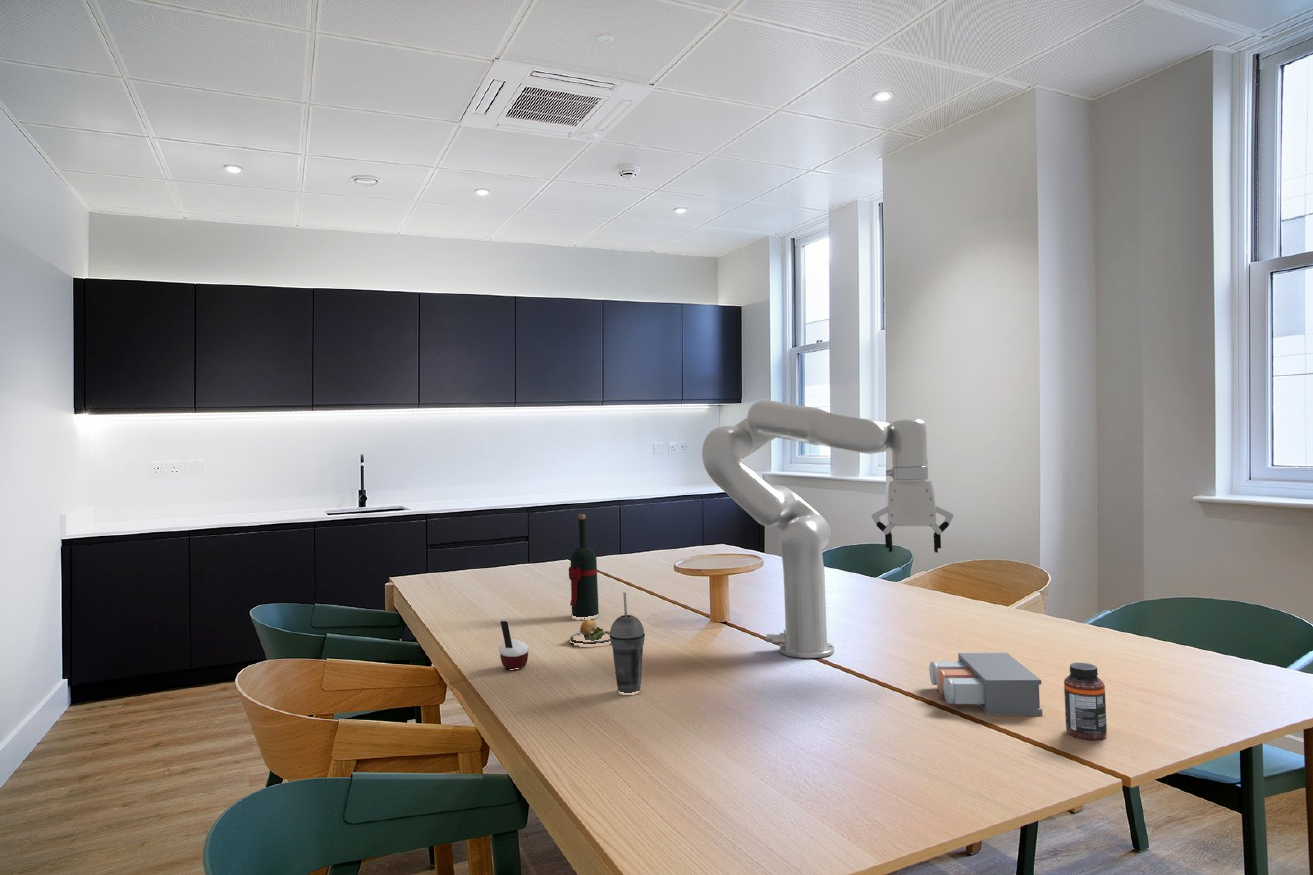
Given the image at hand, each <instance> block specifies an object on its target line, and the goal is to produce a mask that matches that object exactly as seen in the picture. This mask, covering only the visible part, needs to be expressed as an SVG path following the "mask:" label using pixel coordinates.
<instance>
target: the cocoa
mask: <svg viewBox="0 0 1313 875" xmlns="http://www.w3.org/2000/svg"><path fill="white" fill-rule="evenodd" d="M500 627H501V631H502V636H503V641H502V642H501V643H500V645H499V646H498V652H499V654H500V661H501V663H502V666H503V667H504V668H505V669H506V668H508V669H515V668H521V669H523V668H524V667H526V665H527V663H528V660H529V659H528V658H529V649H530V647H529V646H528V645H527V643H525V641H522V640H519V639H515V638H514V639H513V638H511V633H510V628H509V623H508V621H507V620H500ZM522 667H523V668H522ZM508 669H507V670H508Z"/></svg>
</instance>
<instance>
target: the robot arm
mask: <svg viewBox="0 0 1313 875" xmlns="http://www.w3.org/2000/svg"><path fill="white" fill-rule="evenodd" d="M746 416H747V417H746V418H745V419H743V420H742V421H740V422H737V424H735V425H732V426H731V425H723V426H717V427H715V428H713V429H712V430H711V431H709V433H708V434H707V435H706V436H705V438H704V441H703V444H702V449H701V456H702V462H703V466H704V469H705V471H706V473H707V474H708V476H709V477H710V479H711V480H712V481H713V482H714V483H715V484H716V485H717V487H719V488H720V489H721V490H722V491H723V492H724V493H726V494H727V495H728V496H729V497H730V498H731V499H732V500H733V501H734V502H735V504H737V505H738V506H739V507H741V509H743V510H744V511H745V512H746V513H747V514H748V515H750V517H752V518H753V519H754V520H755V522H757V523H758V524H760V525H762V526H763V527H775V526H776V527H777V528H778V529H779V530H780V531H781V534H780V537H779V538H780V539H779V545H780V546H779V547H780V554H781V561H782V570H783V573H782V574H783V591H784V595H783V596H784V619H785V626H784V627H785V629H783V632H780V633H779V634H773V633H766V636H765V637H766V643H771V645H772V644H773V645H778V644H779V652H780V653H781V654H782V655H785V656H787V657H791V658H798V659H799V658H800V659H818V658H825V657H828V656H831V655H833V654H834V652H835V646H834V645H833V644H831V643H829V642H828V641H827V640H828V638H827V636H828V634H827V633H828V632H827V631H828V630H827V610H826V609H827V602H826V601H827V600H826V579H825V577H826V576H825V566H824V559H823V550H824V549H825V548H826V547H827V546H828V545H829V543H830V540H831V536H832V531H831V527H830V525H829V523H828V522H827V520H826V518H824V517H823V516H822V515H821V514H820V513H819V512H818V511H816V509H814V508H813V507H812V506H811V505H809V503H807V502H806V501H805V500H803V498H801V497H800V496H799V494H796V493H795V492H794V491H792V490H791V489H790V488H788V487H786V486H783V485H780V484H779V485H778V484H776V485H775V484H774V485H772V484H770V483H768V482H767V481H765V480H764V479H763V478H762V477H761V476H759V475H758V473H756V472H755V470H753V469H752V468H750V467H749V466H748V465H746V464H745V463H744V462H742V461H741V460H742V459H745V458H746V457H748V456H751V455H752V454H754V453H755V452H757V451H758V450H760V449H761V448H763V447H764V446H766V445H767V444H769V443H771V441H774V440H775V439H776V438H777V439H783V440H787V441H794V442H800V443H804V444H810V445H813V446H823V447H824V446H825V447H829V448H833V449H834V448H835V449H839V450H845V451H850V452H856V453H862V454H867V455H869V454H878V453H883V452H889V451H891V460H892V461H891V462H892V463H891V465H892V468H890V469H886V470H885V476H886V477H891V478H892V480H891V481H889V483H888V489H887V490H888V491H887V505H886V506H885V507H884V508H882V509H879V510H878V511H876V512H874V513H872V514H871V518H872V520H873V522H874V523H875V525H876V527H877V528H878V529H880V531H881V532H883V533H884V537H885V538H884V539H885V543H884V544H885V549H888V553H892V552H893V548H894V547H893V533H892V530H893V529H894V527H930V528H931V529H932V530H933V532H934V533H933V548H934V549H933V550H934V551H933V552H934V553H937V554H938V552H939V549H941V548H942V539H941V537H942V536H941V534H943V532H944V531H945V530H946V529H947V528H948V527H949V526H950V523H951V522H952V520H953V517H954V514H953V513H952V512H950V511H948V510H946V509H944V508H941V507H939V506H937V505H936V497H935V490H934V484H933V481H932V480H931V479H930V480H929V466H928V464H929V463H928V461H929V460H928V443H927V442H928V439H927V436H928V435H927V424H926V423H925V421H924V420H923V419H919V418H916V419H915V418H913V419H912V418H911V419H910V418H908V419H897V420H894V421H891V420H890V421H889V420H888V421H887V420H878V419H868V418H861V417H854V416H848V415H842V414H837V413H832V412H829V411H825V410H823V409H821V408H816V407H812V406H811V407H810V406H805V405H800V404H799V405H798V404H793V403H788V402H786V403H785V402H781V401H776V400H775V401H774V400H768V399H765V400H764V399H762V400H759V401H756V402H755V403H753V404H752V405H751V407H750V408H749V410H748V411H747V415H746ZM886 514H887V519H888V520H887V521H888V524H887V525H885V524H884V523H883V522H882V520H881V519H880V517H882V516H883V515H886ZM937 514H939V515H941V516H943V517H944V518H945V519H944V520H943V522H942V523H940V525H938V524H937V523H936V522H937Z"/></svg>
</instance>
